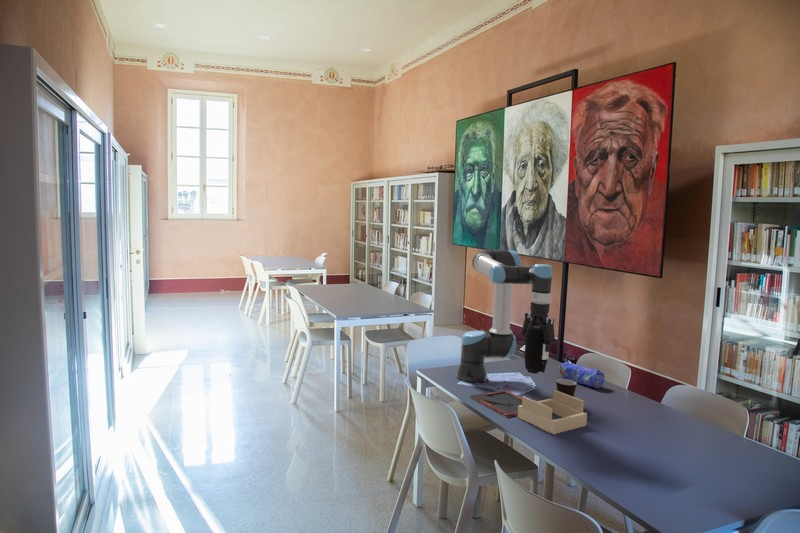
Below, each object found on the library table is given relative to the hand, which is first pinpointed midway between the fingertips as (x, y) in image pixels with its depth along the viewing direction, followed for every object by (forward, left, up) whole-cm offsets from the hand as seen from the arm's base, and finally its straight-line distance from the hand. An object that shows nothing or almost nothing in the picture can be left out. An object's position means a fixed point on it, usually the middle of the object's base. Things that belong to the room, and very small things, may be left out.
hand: (536, 356), depth 224 cm
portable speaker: (0, 0, -7) cm, 7 cm away
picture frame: (-14, -2, -26) cm, 29 cm away
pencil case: (-19, +54, -25) cm, 63 cm away
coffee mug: (-2, +24, -25) cm, 35 cm away
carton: (+10, +1, -25) cm, 27 cm away
